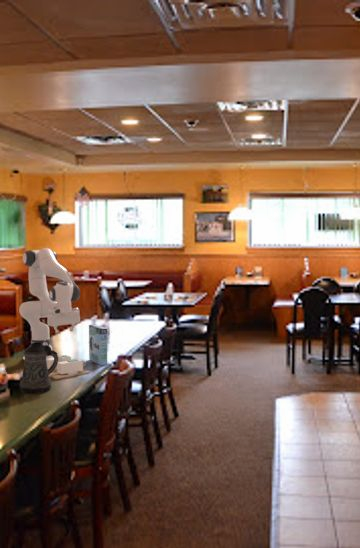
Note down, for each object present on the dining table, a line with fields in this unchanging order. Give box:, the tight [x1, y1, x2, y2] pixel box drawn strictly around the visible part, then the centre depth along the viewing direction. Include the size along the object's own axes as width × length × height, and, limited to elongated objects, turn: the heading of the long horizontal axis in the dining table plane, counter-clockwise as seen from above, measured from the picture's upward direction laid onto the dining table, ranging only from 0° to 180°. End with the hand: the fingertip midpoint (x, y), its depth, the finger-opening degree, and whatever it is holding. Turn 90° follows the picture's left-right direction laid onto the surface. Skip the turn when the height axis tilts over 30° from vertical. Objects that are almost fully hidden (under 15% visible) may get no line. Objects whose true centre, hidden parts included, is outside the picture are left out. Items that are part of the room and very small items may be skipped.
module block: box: [58, 354, 71, 362], centre depth 372 cm, size 5×5×8 cm
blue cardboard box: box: [88, 324, 108, 366], centre depth 401 cm, size 20×5×23 cm, turn 29°
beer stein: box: [19, 343, 59, 395], centre depth 335 cm, size 16×19×25 cm
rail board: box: [46, 356, 90, 380], centre depth 372 cm, size 20×22×8 cm
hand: (64, 332), depth 373 cm, fingers open, 8 cm apart
